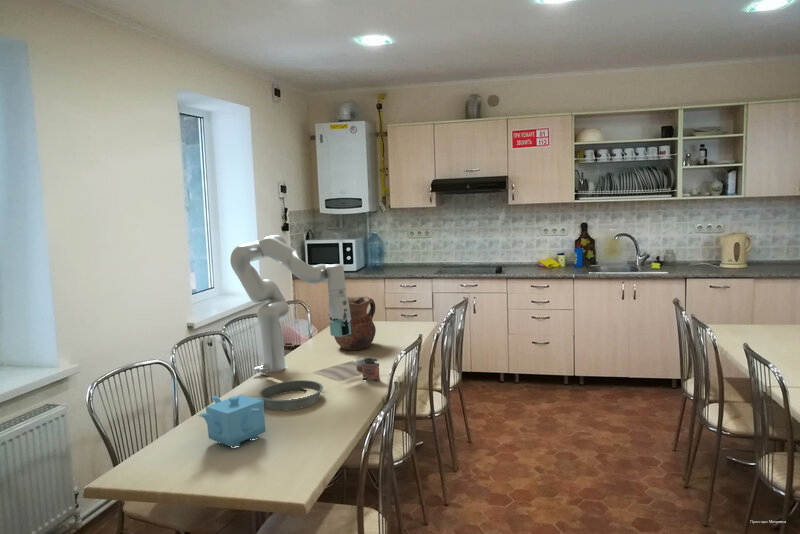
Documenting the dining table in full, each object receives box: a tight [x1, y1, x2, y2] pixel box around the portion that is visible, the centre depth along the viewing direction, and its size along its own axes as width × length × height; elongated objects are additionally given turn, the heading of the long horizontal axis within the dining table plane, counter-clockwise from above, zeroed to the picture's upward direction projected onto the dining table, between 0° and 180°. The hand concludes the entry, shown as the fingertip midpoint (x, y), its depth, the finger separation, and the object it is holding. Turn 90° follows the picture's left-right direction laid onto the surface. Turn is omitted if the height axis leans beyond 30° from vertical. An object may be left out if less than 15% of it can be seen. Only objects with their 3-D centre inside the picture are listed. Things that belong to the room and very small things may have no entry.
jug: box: [333, 296, 377, 351], centre depth 312 cm, size 22×21×25 cm
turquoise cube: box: [329, 319, 351, 337], centre depth 266 cm, size 6×6×6 cm
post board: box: [312, 358, 365, 382], centre depth 268 cm, size 22×20×6 cm
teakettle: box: [197, 394, 267, 447], centre depth 201 cm, size 19×19×15 cm
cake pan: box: [258, 379, 324, 411], centre depth 238 cm, size 25×25×4 cm
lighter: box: [362, 356, 381, 383], centre depth 257 cm, size 8×3×10 cm, turn 62°
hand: (340, 333), depth 266 cm, fingers closed on turquoise cube, 6 cm apart
